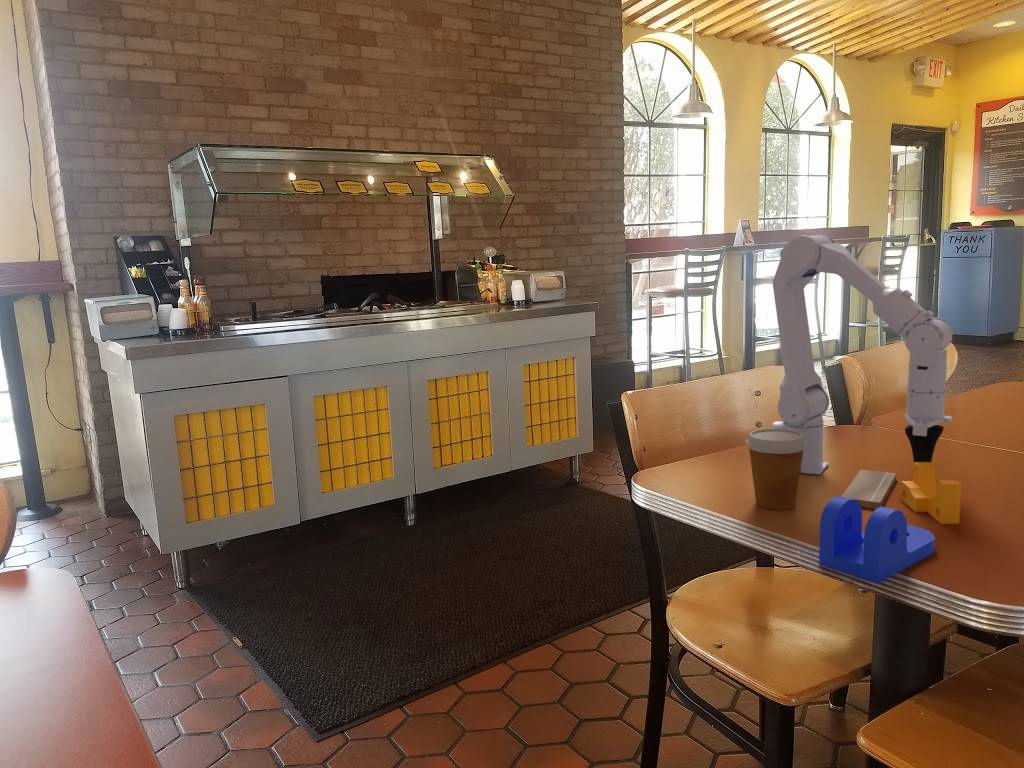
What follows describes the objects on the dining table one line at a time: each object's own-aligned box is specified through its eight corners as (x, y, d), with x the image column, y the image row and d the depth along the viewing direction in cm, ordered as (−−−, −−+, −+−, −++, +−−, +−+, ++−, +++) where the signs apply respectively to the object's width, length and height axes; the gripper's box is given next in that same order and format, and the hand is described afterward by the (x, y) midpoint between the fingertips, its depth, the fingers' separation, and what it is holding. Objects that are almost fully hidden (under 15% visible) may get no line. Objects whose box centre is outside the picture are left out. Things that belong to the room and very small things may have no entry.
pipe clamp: (900, 499, 132) (902, 462, 131) (927, 499, 131) (929, 462, 130) (928, 524, 120) (931, 484, 119) (959, 524, 119) (961, 484, 118)
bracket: (878, 584, 100) (880, 517, 99) (819, 565, 107) (820, 502, 106) (945, 547, 111) (948, 486, 110) (887, 532, 118) (889, 474, 116)
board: (840, 504, 130) (840, 497, 130) (860, 475, 145) (860, 469, 145) (880, 509, 127) (880, 502, 127) (896, 479, 142) (896, 473, 141)
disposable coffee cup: (779, 517, 126) (780, 444, 124) (733, 502, 134) (733, 434, 132) (818, 505, 130) (819, 434, 128) (771, 491, 138) (772, 425, 136)
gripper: (949, 399, 126) (944, 481, 128) (956, 384, 138) (952, 459, 140) (900, 396, 130) (896, 476, 132) (911, 382, 141) (908, 455, 144)
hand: (922, 467), depth 136 cm, fingers closed
